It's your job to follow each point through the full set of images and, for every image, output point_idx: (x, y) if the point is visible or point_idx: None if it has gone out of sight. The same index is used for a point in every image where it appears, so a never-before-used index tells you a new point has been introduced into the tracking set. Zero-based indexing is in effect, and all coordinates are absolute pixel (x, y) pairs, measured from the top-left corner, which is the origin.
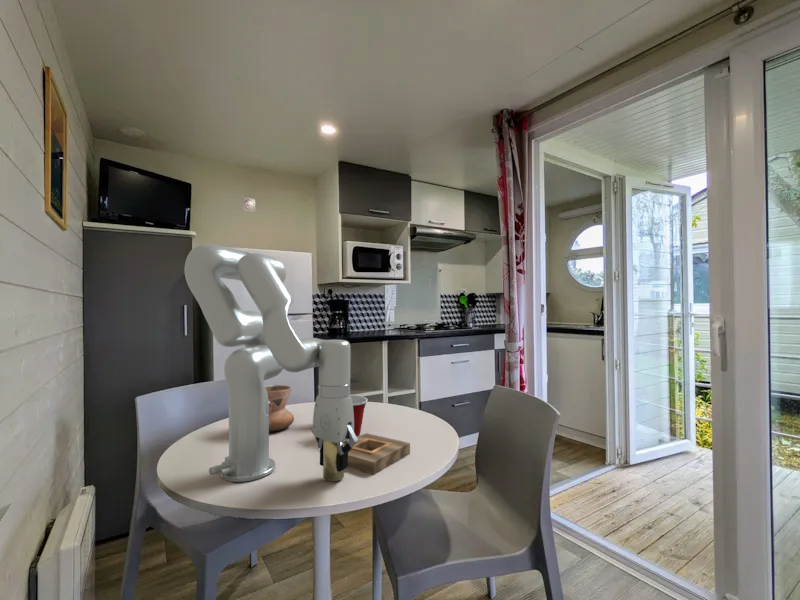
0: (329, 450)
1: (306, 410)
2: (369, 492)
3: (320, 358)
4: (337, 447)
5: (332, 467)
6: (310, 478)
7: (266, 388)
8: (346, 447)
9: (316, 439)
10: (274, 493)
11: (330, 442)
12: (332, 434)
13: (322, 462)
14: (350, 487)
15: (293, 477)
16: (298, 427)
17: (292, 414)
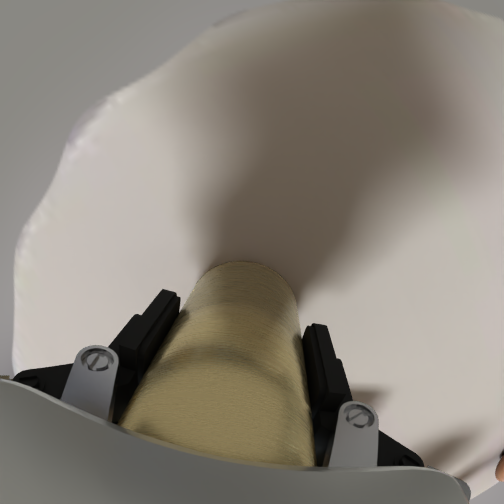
0: (193, 367)
1: (471, 498)
2: (50, 248)
3: None
4: (130, 403)
5: (200, 297)
6: (358, 274)
7: None
8: (28, 376)
9: (409, 453)
10: (420, 93)
11: (159, 430)
12: (32, 484)
13: (308, 335)
14: (124, 259)
15: (433, 254)
16: (481, 468)
17: (501, 480)
